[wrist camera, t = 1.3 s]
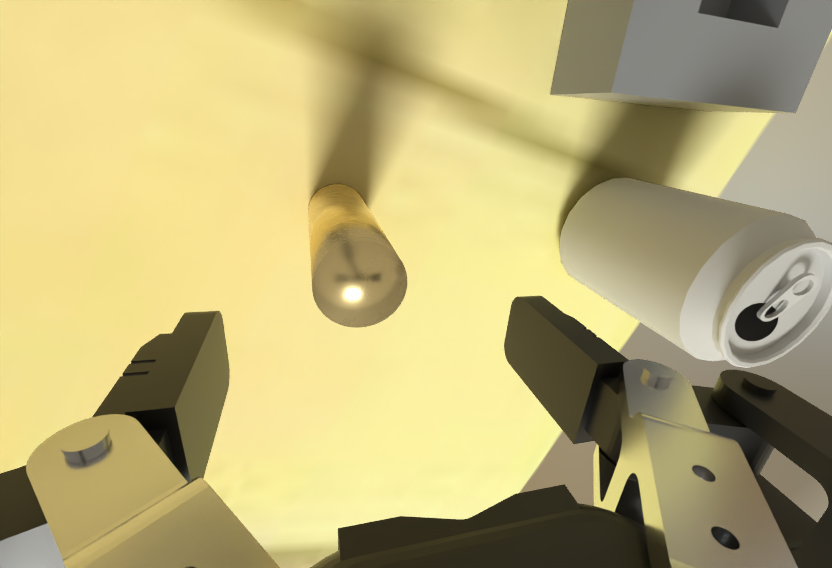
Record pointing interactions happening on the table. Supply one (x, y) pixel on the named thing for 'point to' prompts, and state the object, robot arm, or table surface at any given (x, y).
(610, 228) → the can
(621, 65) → the socket
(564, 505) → the robot arm
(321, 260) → the peg
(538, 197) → the table surface
